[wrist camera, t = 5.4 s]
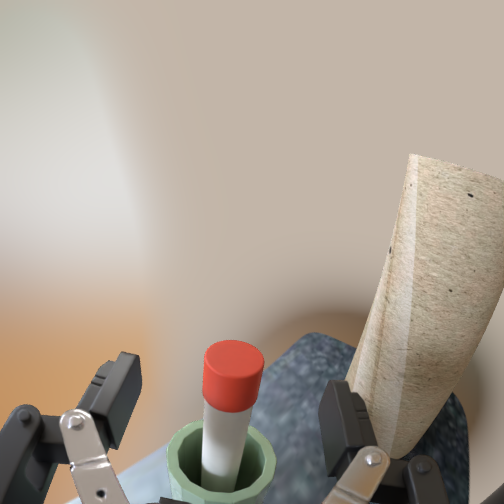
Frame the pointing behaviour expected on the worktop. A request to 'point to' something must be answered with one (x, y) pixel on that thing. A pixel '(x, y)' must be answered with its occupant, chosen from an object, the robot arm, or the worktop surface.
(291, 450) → the worktop surface
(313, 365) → the worktop surface
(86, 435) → the robot arm
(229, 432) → the marker
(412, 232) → the tube
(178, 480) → the green pencil holder
